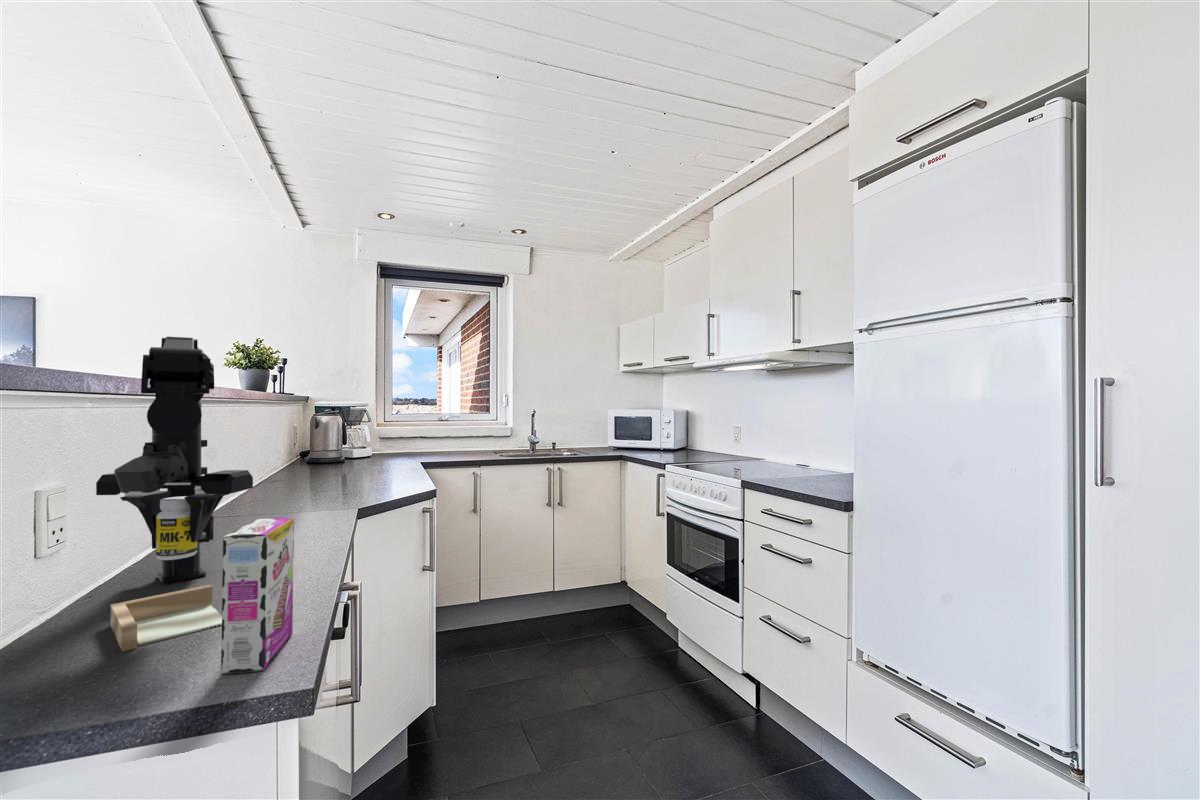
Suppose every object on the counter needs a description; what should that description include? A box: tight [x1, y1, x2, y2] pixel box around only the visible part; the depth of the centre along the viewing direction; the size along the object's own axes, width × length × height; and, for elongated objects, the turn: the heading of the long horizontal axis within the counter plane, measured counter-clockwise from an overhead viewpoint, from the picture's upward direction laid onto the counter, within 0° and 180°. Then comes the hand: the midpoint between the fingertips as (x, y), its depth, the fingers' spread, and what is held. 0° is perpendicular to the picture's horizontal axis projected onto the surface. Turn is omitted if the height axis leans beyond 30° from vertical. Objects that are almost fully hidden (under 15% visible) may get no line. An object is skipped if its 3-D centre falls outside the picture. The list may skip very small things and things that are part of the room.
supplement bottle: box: [155, 496, 197, 561], centre depth 81 cm, size 5×5×8 cm
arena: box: [109, 584, 222, 653], centre depth 80 cm, size 12×12×3 cm
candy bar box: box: [220, 517, 295, 675], centre depth 71 cm, size 11×5×16 cm, turn 13°
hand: (177, 541), depth 81 cm, fingers closed on supplement bottle, 5 cm apart
